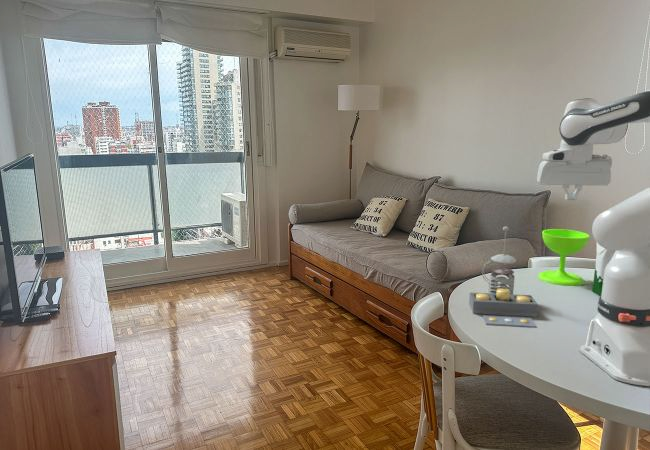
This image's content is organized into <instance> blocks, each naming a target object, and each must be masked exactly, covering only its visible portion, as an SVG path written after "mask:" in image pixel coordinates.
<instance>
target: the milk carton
mask: <svg viewBox="0 0 650 450" xmlns="http://www.w3.org/2000/svg"><path fill="white" fill-rule="evenodd" d="M614 253H615V251H612V250H608V249H605V248H603V247H602V246H600V245H599V244H598V243H597V242H596V259H595V265H594V275H593V283H592V290H591V292H592V293H594V294H596V295H597V296H599V297H600V296H601V294H602V286H603V278H604V270H605V268H606V265H607V264H608V263H609V262H610V260H611V259H612V257H613V255H614Z"/></svg>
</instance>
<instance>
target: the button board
mask: <svg viewBox="0 0 650 450" xmlns="http://www.w3.org/2000/svg"><path fill="white" fill-rule="evenodd" d="M476 294H486V295H488V296H489V300H476ZM517 296H527V297H529V298H530V302H517V301H516V298H517ZM468 304H469V307H470V309H471V311H472V314H480V315H481V314H482V319H483V320H484V323H485V325H490V326H503V327H504V326H509V327H521V328H523V327H525V328H537V325H536V324H535V322H534V321H533V320H532V318H531V317H534V318H535V317H536V318H537V317H538V312H539V311H538V310H539V303H538V302H537V301H536V300H535V299H534V297H533V296H532V295H529V294H528V295H527V294H514V293H513V294H510V299H509V301H497V300H496V294H492V293H488V292H469V301H468Z"/></svg>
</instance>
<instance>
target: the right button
mask: <svg viewBox="0 0 650 450" xmlns="http://www.w3.org/2000/svg"><path fill="white" fill-rule="evenodd" d="M516 301H517V302H530V298H529V297H527V296H517V298H516Z"/></svg>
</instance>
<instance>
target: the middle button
mask: <svg viewBox="0 0 650 450" xmlns="http://www.w3.org/2000/svg"><path fill="white" fill-rule="evenodd" d="M509 299H510V291H509V289H497V291H496V300H497V301H509Z"/></svg>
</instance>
